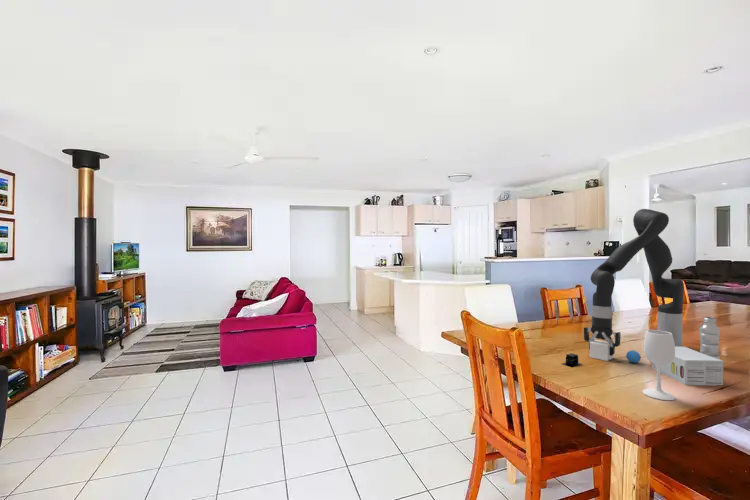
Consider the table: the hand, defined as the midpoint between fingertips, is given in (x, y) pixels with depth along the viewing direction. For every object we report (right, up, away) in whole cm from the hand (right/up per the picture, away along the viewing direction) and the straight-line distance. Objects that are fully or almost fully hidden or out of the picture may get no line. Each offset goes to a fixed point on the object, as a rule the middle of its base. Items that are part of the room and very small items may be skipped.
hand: (601, 353), depth 158 cm
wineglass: (-6, -3, -39) cm, 40 cm away
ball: (+9, 0, -7) cm, 11 cm away
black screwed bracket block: (-18, -3, -8) cm, 20 cm away
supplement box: (+17, -3, -23) cm, 29 cm away
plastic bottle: (+36, -2, -12) cm, 38 cm away
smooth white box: (0, -2, 0) cm, 2 cm away
